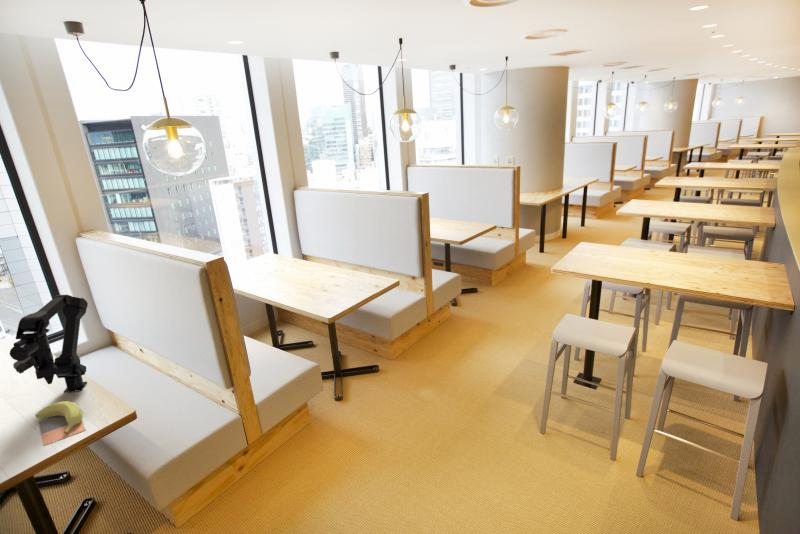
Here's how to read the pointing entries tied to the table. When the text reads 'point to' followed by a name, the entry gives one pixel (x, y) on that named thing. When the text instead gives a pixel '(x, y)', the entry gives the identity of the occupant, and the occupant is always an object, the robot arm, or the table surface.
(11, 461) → the table surface
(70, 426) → the banana
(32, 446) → the table surface
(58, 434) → the pad
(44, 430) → the mat
